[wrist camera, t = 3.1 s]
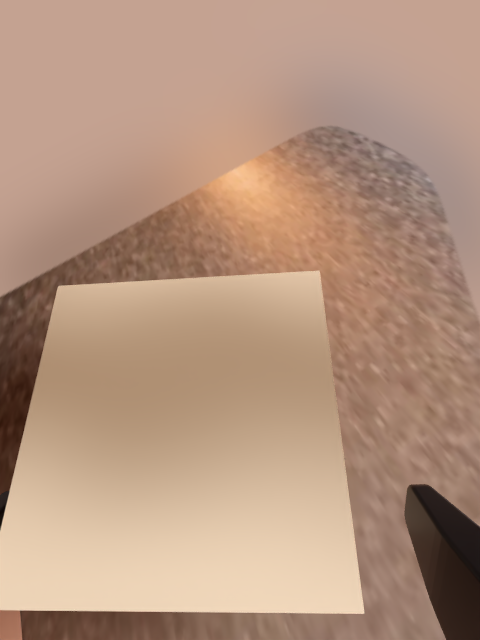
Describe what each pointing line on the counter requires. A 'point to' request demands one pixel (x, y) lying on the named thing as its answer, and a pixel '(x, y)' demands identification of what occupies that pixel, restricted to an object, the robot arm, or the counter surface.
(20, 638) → the terracotta stand
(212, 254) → the counter surface
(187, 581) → the birch block
